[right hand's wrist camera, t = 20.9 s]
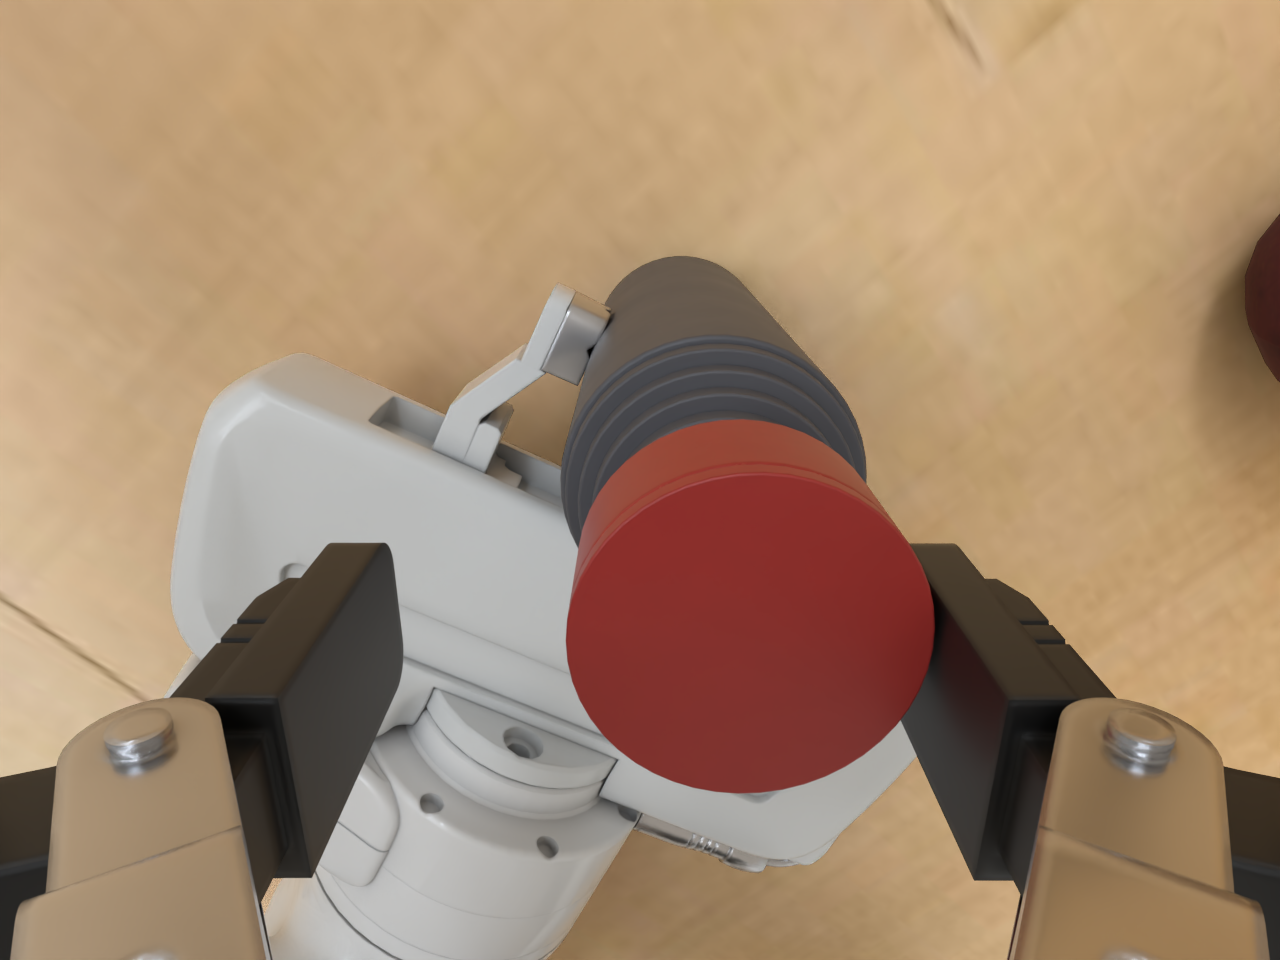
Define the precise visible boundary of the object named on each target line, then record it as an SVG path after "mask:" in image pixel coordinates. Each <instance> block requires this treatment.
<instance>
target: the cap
mask: <svg viewBox="0 0 1280 960" xmlns="http://www.w3.org/2000/svg"><path fill="white" fill-rule="evenodd" d="M934 633H935V618H934V605H933V600H932V595H931V591H930V586H929V583H928V580H927V578H926V575H925V573H924V570H923V567H922V565H921V563H920V561H919V560H918V558H917V556H916V554H915V553H914V551H913V549H912V547H911V546H910V544H909V543H908V542H907V540H906V539H905V537H904V536H903V535H902V533H901V532H900V530H899V529H898V528H897V526H896V525H895V523H894V522H893V521H892V519H891V518H890V517H889V515H888V514H887V512H886V511H885V510H884V508H883V507H882V505H881V504H880V503H879V501H878V500H877V498H876V497H875V496H874V494H873V493H872V492H871V490H870V489H869V487H868V486H867V485H866V483H865V482H864V481H863V479H862V478H861V477H860V476H859V474H858V473H857V472H856V470H855V469H854V468H853V467H852V466H851V465H850V464H849V463H848V462H847V461H846V460H845V459H844V458H843V457H841V456H840V455H839V454H838V453H837V452H835V451H834V450H832V449H831V448H830V447H828V446H827V445H825V444H824V443H823V442H821V441H819V440H817V439H815V438H813V437H811V436H809V435H807V434H805V433H803V432H800V431H798V430H795V429H792V428H789V427H787V426H783V425H779V424H774V423H770V422H765V421H755V420H744V419H739V420H719V421H713V422H707V423H701V424H697V425H694V426H690V427H687V428H683V429H680V430H677V431H675V432H673V433H671V434H668V435H666V436H664V437H662V438H659V439H658V440H656V441H654V442H653V443H651V444H649V445H648V446H646V447H644V448H643V449H641V450H640V451H638V452H637V453H636V454H635V455H633V456H632V457H631V458H630V459H628V460H627V461H626V462H625V463H624V464H623V465H622V466H621V467H620V468H619V469H618V470H617V471H616V472H615V473H614V474H613V475H612V476H611V477H610V478H609V480H608V481H607V483H606V484H605V485H604V487H603V488H602V489H601V491H600V492H599V494H598V495H597V497H596V499H595V501H594V503H593V505H592V506H591V508H590V510H589V513H588V516H587V518H586V521H585V524H584V526H583V530H582V534H581V539H580V543H579V548H578V555H577V561H576V567H575V573H574V579H573V586H572V592H571V598H570V604H569V610H568V616H567V627H566V652H567V662H568V666H569V671H570V675H571V679H572V683H573V685H574V688H575V690H576V693H577V695H578V698H579V700H580V702H581V704H582V705H583V707H584V709H585V711H586V712H587V714H588V716H589V717H590V719H591V720H592V722H593V723H594V724H595V726H596V727H597V728H598V729H599V731H600V732H601V733H602V734H603V736H604V737H605V738H606V739H607V740H608V741H609V742H610V743H611V744H613V745H614V746H615V747H616V748H617V749H618V750H619V751H620V752H621V753H623V754H624V755H625V756H627V757H628V758H629V759H631V760H632V761H633V762H635V763H636V764H638V765H640V766H642V767H643V768H645V769H647V770H649V771H650V772H652V773H654V774H656V775H659V776H661V777H663V778H666V779H668V780H670V781H673V782H676V783H679V784H682V785H686V786H689V787H692V788H697V789H702V790H708V791H713V792H723V793H736V794H742V793H763V792H770V791H777V790H784V789H788V788H792V787H796V786H800V785H804V784H807V783H809V782H812V781H815V780H818V779H820V778H823V777H826V776H828V775H830V774H832V773H834V772H836V771H838V770H840V769H842V768H844V767H846V766H848V765H849V764H851V763H852V762H854V761H855V760H857V759H859V758H860V757H862V756H863V755H865V754H866V753H867V752H868V751H870V750H871V749H872V748H873V747H875V746H876V745H877V744H878V743H879V742H881V741H882V740H883V739H884V738H885V737H886V736H887V735H888V734H889V733H890V732H891V730H892V729H893V728H894V727H895V726H896V725H897V724H898V723H899V721H900V720H901V719H902V717H903V716H904V715H905V713H906V712H907V711H908V709H909V708H910V706H911V705H912V703H913V701H914V699H915V698H916V696H917V694H918V692H919V690H920V688H921V686H922V683H923V681H924V678H925V676H926V673H927V671H928V667H929V663H930V659H931V655H932V651H933V644H934Z"/></svg>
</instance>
